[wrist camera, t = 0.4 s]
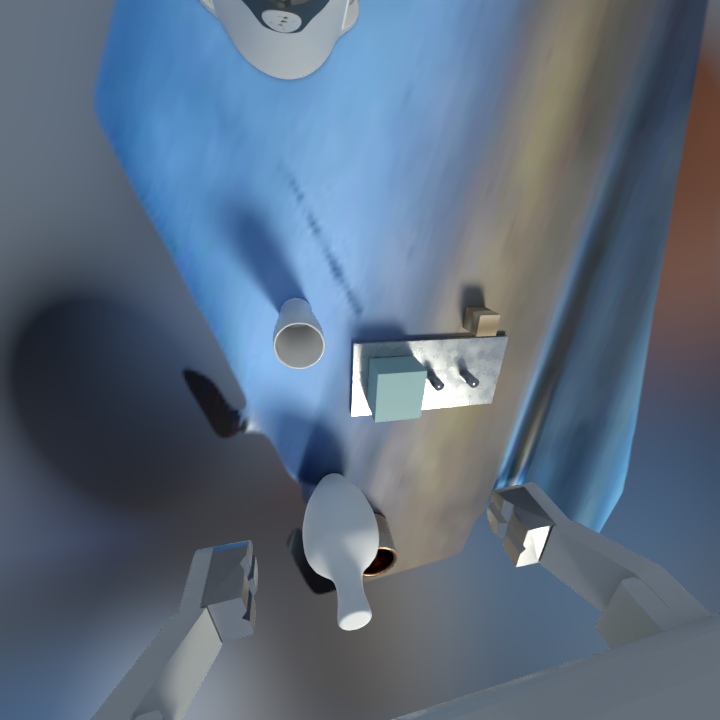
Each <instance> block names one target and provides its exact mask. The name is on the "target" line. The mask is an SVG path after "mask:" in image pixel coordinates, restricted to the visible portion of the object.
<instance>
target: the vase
mask: <svg viewBox="0 0 720 720" xmlns="http://www.w3.org/2000/svg"><path fill="white" fill-rule="evenodd" d="M303 545H304V551H305V555H306V558H307V560H308V563H309V564H310V566H311V567H312V568H313V570H314V571H315V572H316V573H318V574H320V575H322V576H323V577H326V578H328V579H331V580H332V581H333V582H334V584H335V586H336V589H337V594H338V625H339V626H340V627H341V628H342V629H344V630H355V629H358V628H361V627H363V626H365V625H366V624H367V623H368V622H369V621H370V619H371V616H372V614H371V609H370V606H369V604H368V601H367V598H366V596H365V593H364V589H363V583H362V576H363V572H364V570H365V569H366V568H367V567H368V566H369V565H370V564H371V563H372V561H373V560H374V558H375V557H376V554H377V550H378V546H379V533H378V526H377V522H376V518H375V515H374V512H373V510H372V508H371V506H370V504H369V503H368V501H367V499H366V498H365V496H364V495H363V493H362V492H361V491H360V490H359V489H358V488H357V487H356V486H355V485H354V484H353V483H351V482H350V481H349V480H348V479H346V478H345V477H344V476H342V475H340V474H337V473H331V474H328V475H326V476H325V477H323V478H322V479H321V481H320V482H319V484H318V485H317V487H316V489H315V491H314V492H313V494H312V496H311V498H310V500H309V502H308V505H307V509H306V512H305V517H304V523H303Z"/></svg>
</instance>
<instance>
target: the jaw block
mask: <svg viewBox="0 0 720 720" xmlns="http://www.w3.org/2000/svg"><path fill="white" fill-rule="evenodd" d="M499 320H500V314H498V313H496V312H494V311H492V310H490V309H488V308H486V307H471V308H466V313H465V318H464V324H463V328H464V329H466V330H467V331H469V332H470V333H472V334H473V335H475V336H476V337H478V336H496V332H497V328H498V324H499Z"/></svg>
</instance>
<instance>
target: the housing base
mask: <svg viewBox="0 0 720 720" xmlns="http://www.w3.org/2000/svg"><path fill="white" fill-rule="evenodd" d="M507 341H508V336H507V335H496V336H478V337H476V336H471V337H450V338H428V339H407V340H386V341H365V342H353V355H352V391H351V415H352V416H360V415H371V412H370V410H369V407H368V405H367V395H368V376H369V359H373V358H390V357H407V356H415V357H416V358H417V359H418V361H419V362H420V363H421V364H422V365H423V366H424V368H425V369H426V370H427V378H426V385H425V392H424V398H423V405H422V410H423V409H434V408H444V407H455V406H465V405H476V404H486V403H492V399H493V395H494V391H495V387H496V384H497V380H498V376H499V372H500V368H501V364H502V360H503V356H504V352H505V348H506V345H507Z"/></svg>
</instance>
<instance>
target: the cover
mask: <svg viewBox="0 0 720 720" xmlns="http://www.w3.org/2000/svg"><path fill="white" fill-rule="evenodd" d="M426 378H427V370H426V369H425V368H424V366H423V365H422V364H421V363H420V362H419V361H418V359H417V358H416V357H415V356H407V357H390V358H373V359H369V376H368V395H367V405H368V407H369V410H370V412H371V414H372V417H373V419H374V422H384V421H394V420H404V419H413V418H421V412H422V405H423V398H424V392H425V385H426Z"/></svg>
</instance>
